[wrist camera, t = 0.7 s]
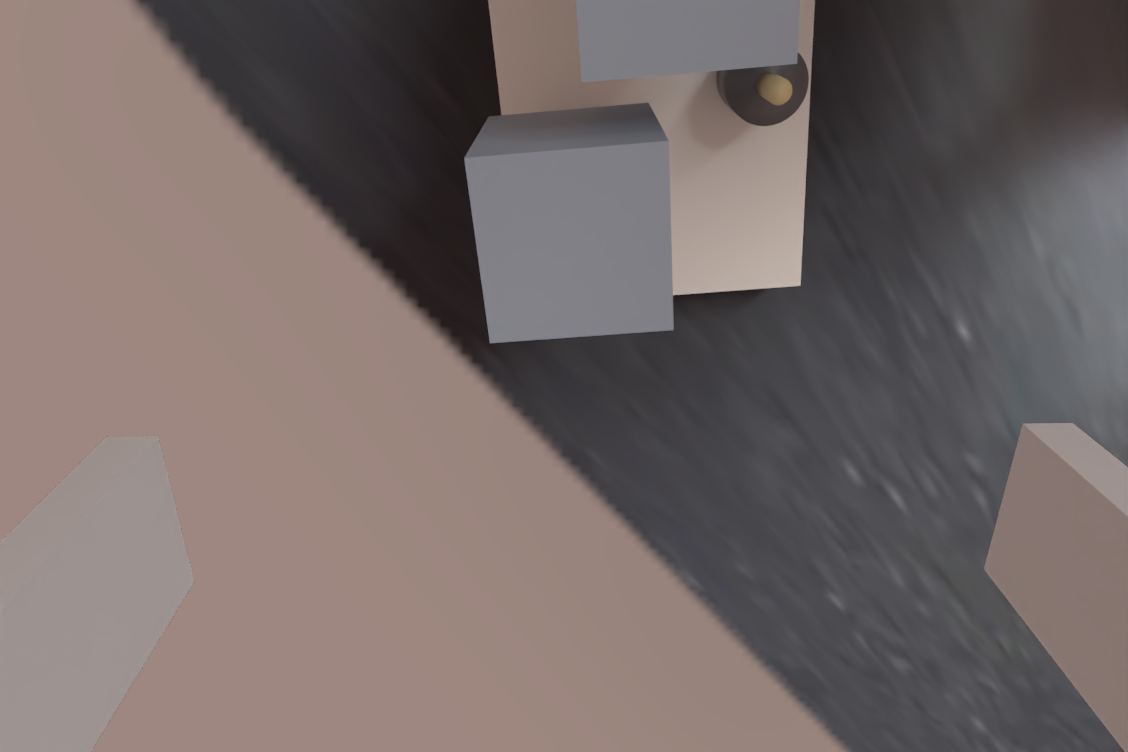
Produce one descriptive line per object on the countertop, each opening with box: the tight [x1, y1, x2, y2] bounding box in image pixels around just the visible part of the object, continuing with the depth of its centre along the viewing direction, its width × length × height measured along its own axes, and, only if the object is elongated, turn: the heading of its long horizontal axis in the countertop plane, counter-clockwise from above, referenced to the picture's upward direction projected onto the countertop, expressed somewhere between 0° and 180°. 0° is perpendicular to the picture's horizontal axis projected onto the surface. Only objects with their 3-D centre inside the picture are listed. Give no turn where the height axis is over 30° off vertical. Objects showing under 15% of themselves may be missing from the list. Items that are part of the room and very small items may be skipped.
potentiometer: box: [716, 52, 809, 126], centre depth 26 cm, size 3×3×4 cm
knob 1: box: [464, 103, 674, 343], centre depth 23 cm, size 5×5×6 cm
